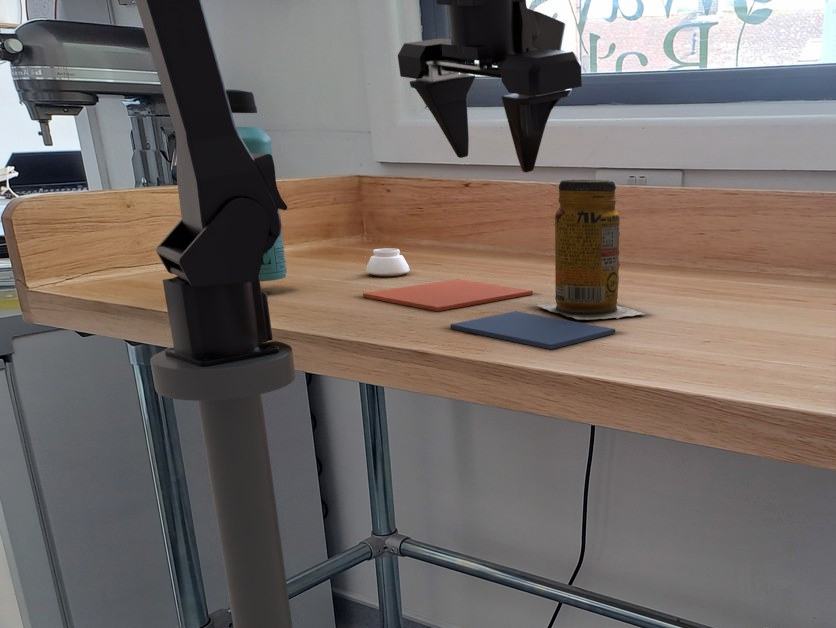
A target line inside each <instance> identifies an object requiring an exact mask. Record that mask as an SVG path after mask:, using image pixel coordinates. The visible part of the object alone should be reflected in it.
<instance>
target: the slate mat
mask: <svg viewBox="0 0 836 628" xmlns="http://www.w3.org/2000/svg"><path fill="white" fill-rule="evenodd" d="M450 329H451V330H456V331H460V332H466V333H470V334H475V335H479V336H485V337H490V338H494V339H500V340H504V341H509V342H514V343H519V344H524V345H528V346H533V347H538V348H543V349H547V350H554V349H559V348H564V347H566V346H570V345H575V344H579V343H582V342H587V341H590V340H594V339H598V338H603V337H607V336H609V335H615V334H616V328H612V327H608V326H607V327H606V326H602V325H597V324H596V325H595V324H590V323H584V322H578V321H572V320H568V319H561V318H556V317H549V316H544V315H539V314H533V313H527V312H522V311H509V312H506V313H500V314H495V315H491V316H485V317H480V318H475V319H471V320H465V321H461V322H460V321H459V322H455V323H451V324H450Z"/></svg>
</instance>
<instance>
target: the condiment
mask: <svg viewBox="0 0 836 628" xmlns="http://www.w3.org/2000/svg"><path fill="white" fill-rule="evenodd" d="M616 189H617V186H616V184H615V182H614V181H613V180H601V179H598V180H597V179H564V180H561V181H560V182H559V185H558V195H559V196H558V199H557V201H558V203H559V208H558V209H557V211H556V212H555V214H554V230H555V231H554V252H555V253H554V263H555V264H554V268H555V269H554V270H555V271H554V272H555V273H554V276H555V278H554V279H555V280H554V281H555V282H554V283H555V296H554V298H555V302H556V303H549V304H548V303H547V304H546V303H545V304H537V305H536V306H537V307H539V308H542V309H544V310H547V312H548V311H549V312H552V313H555V314H561V315H562V316H565V317H568V318H573V319H575V320H585V321H586V320H587V321H588V320H600V319H601V320H607V319H614V318H616V319H620V318H623V317H634V316H639V315H646V313H644V312H642V311H638V310H636V309H631V308H629V307H624V306H619V305H618V299H619V298H618V296H619V283H620V277H619V276H620V275H619V273H620V272H619V270H620V265H621V264H620V259H619V257H620V235H621V232H620V224H621V223H620V215H619V212H618V211H617V209H616V204H617V199H616Z"/></svg>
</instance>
